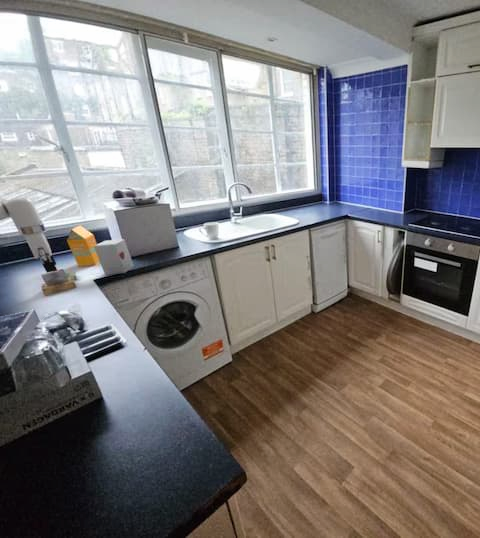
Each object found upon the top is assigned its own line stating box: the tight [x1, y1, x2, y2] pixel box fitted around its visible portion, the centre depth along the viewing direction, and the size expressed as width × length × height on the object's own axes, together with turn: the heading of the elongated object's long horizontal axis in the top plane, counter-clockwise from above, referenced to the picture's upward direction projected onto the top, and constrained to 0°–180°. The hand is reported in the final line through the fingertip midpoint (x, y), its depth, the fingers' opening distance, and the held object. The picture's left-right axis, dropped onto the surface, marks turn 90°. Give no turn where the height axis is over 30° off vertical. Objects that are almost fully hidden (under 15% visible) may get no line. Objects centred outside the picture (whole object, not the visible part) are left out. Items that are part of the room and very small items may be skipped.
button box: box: [64, 270, 78, 282], centre depth 136 cm, size 10×7×4 cm
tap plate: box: [40, 277, 77, 296], centre depth 129 cm, size 11×11×3 cm
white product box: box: [94, 238, 135, 276], centre depth 144 cm, size 9×9×15 cm
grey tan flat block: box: [41, 268, 69, 286], centre depth 127 cm, size 7×2×5 cm, turn 135°
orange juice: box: [66, 224, 100, 268], centre depth 154 cm, size 8×9×20 cm
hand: (51, 268), depth 125 cm, fingers open, 9 cm apart
